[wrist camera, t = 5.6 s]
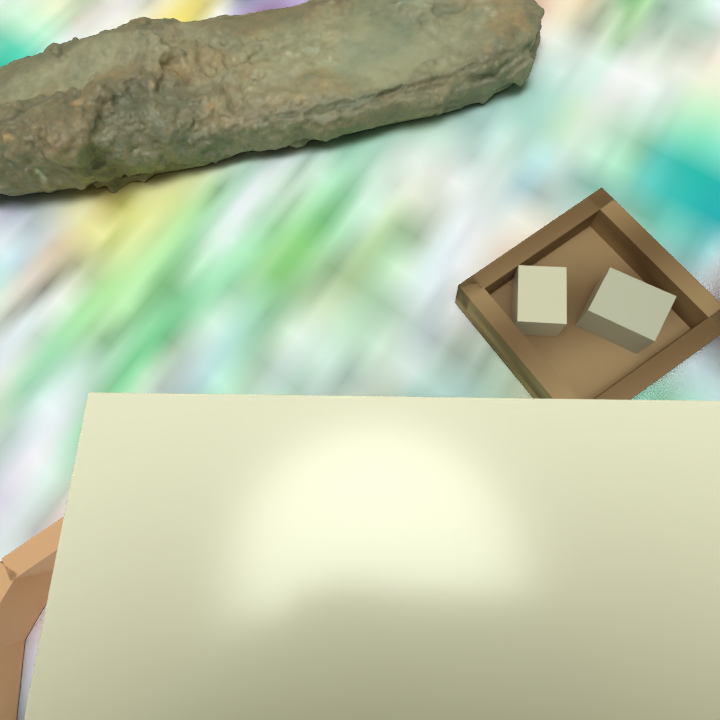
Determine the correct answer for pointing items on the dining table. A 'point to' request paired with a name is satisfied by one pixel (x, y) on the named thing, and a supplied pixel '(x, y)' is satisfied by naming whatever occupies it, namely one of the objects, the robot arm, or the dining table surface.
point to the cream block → (539, 300)
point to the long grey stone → (248, 85)
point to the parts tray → (584, 270)
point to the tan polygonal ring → (22, 607)
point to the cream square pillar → (386, 561)
